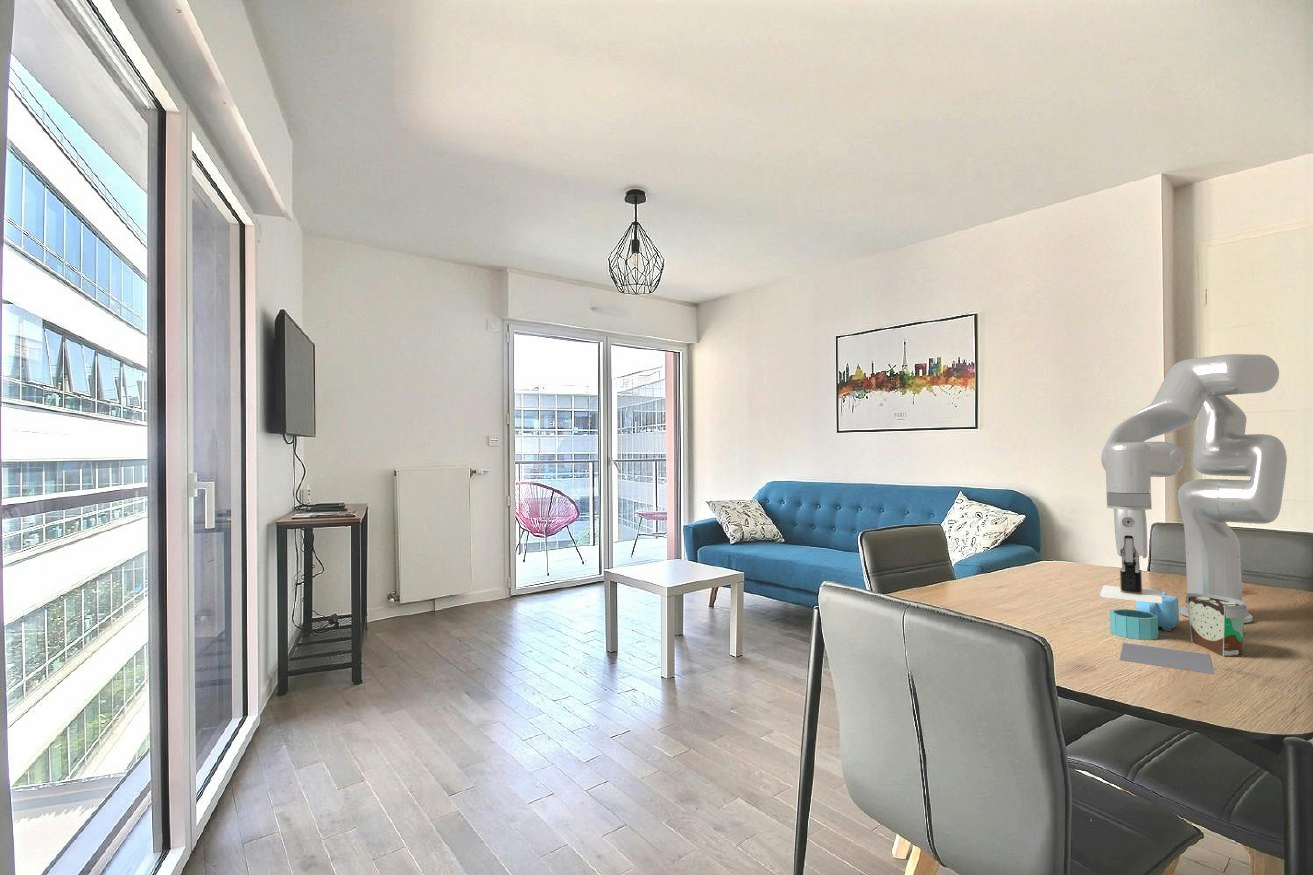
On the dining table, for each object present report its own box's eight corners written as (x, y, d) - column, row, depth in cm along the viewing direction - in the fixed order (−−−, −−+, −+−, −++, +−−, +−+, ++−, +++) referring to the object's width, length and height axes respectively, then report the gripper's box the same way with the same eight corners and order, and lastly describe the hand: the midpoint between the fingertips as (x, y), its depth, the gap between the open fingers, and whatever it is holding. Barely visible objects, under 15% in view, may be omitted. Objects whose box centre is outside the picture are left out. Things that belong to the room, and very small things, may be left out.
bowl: (1112, 629, 137) (1111, 607, 138) (1158, 635, 132) (1157, 612, 133) (1109, 637, 131) (1108, 615, 131) (1158, 644, 126) (1157, 620, 126)
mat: (1123, 645, 126) (1123, 642, 126) (1209, 657, 118) (1209, 654, 118) (1119, 662, 116) (1119, 659, 116) (1213, 677, 108) (1213, 674, 108)
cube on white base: (1162, 594, 133) (1161, 569, 133) (1162, 603, 125) (1161, 576, 125) (1104, 588, 139) (1103, 564, 139) (1100, 596, 131) (1099, 571, 131)
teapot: (1148, 618, 146) (1147, 585, 146) (1182, 623, 141) (1180, 589, 141) (1135, 628, 138) (1134, 593, 138) (1170, 634, 133) (1169, 598, 134)
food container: (1268, 663, 114) (1266, 607, 114) (1229, 662, 115) (1226, 606, 116) (1222, 643, 126) (1220, 592, 127) (1187, 642, 127) (1184, 592, 128)
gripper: (1150, 504, 124) (1153, 599, 123) (1152, 500, 137) (1155, 585, 136) (1103, 503, 129) (1106, 594, 128) (1109, 498, 141) (1112, 581, 141)
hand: (1131, 588), depth 132 cm, fingers closed on cube on white base, 3 cm apart
